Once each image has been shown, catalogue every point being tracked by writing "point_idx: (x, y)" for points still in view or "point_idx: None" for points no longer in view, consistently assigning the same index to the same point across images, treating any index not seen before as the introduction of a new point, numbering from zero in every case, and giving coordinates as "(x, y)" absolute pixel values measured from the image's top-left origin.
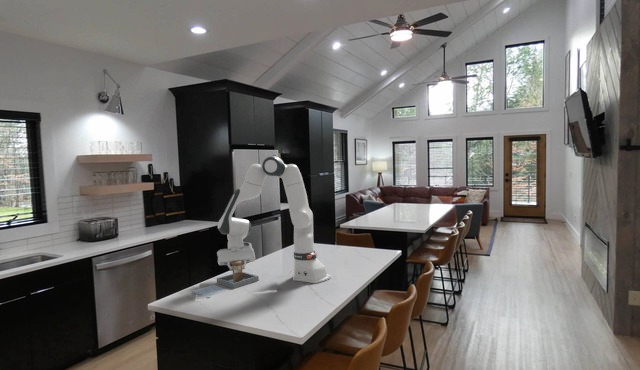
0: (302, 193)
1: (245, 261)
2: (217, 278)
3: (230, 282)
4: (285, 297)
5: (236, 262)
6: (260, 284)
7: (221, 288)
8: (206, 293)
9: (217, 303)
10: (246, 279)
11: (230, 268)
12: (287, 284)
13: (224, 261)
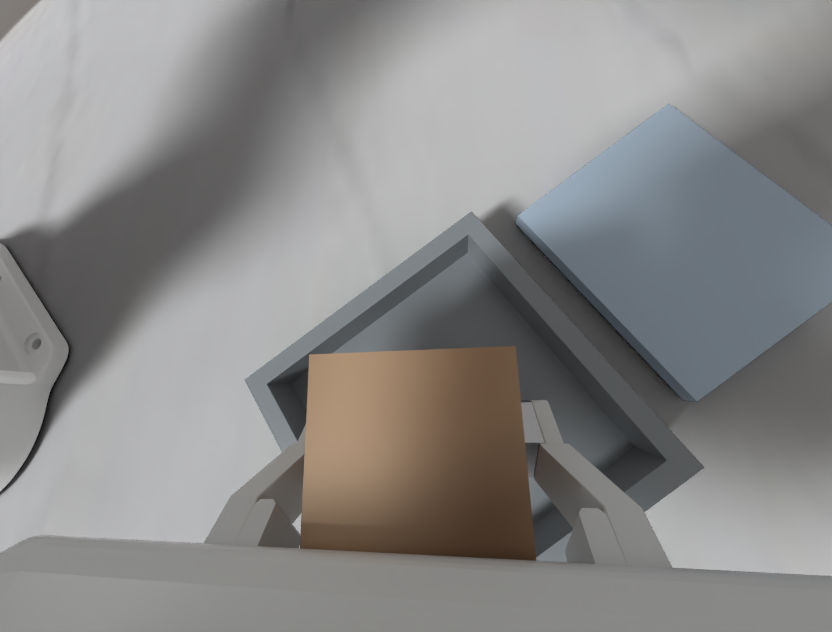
0: None
1: (238, 509)
2: (690, 462)
3: (505, 255)
4: (198, 74)
5: (418, 390)
6: (278, 330)
7: (579, 261)
8: (693, 167)
9: (559, 40)
10: (356, 303)
11: (539, 407)
12: (127, 273)
13: (798, 578)
